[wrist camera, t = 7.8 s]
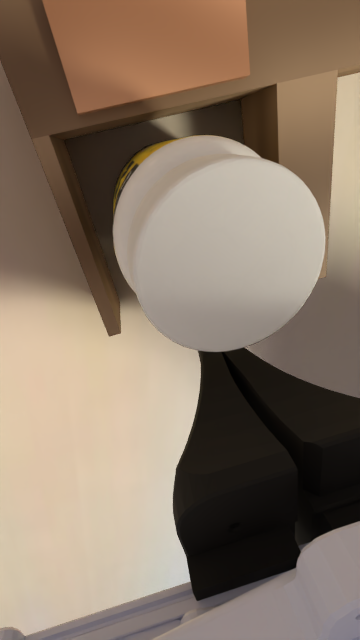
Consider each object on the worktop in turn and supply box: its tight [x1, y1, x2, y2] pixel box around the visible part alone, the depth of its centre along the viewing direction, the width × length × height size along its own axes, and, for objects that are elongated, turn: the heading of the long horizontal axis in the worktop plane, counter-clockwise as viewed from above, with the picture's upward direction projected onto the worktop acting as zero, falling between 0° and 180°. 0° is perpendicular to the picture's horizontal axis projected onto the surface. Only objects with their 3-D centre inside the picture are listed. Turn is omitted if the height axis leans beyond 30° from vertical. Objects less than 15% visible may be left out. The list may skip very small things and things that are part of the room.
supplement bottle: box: [113, 135, 325, 352], centre depth 9 cm, size 5×5×8 cm
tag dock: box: [0, 0, 360, 336], centre depth 11 cm, size 10×17×3 cm, turn 102°
